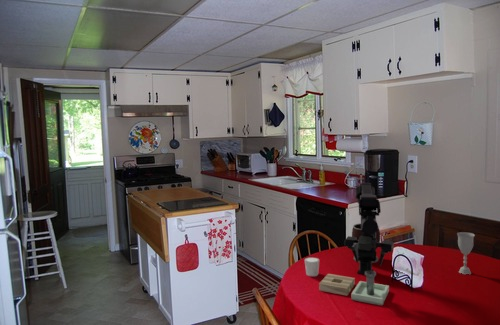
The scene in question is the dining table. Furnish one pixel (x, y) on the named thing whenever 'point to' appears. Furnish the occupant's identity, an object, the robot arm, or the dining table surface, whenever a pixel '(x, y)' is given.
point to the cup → (312, 266)
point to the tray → (377, 298)
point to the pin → (370, 281)
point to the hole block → (337, 284)
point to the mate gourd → (357, 232)
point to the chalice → (465, 248)
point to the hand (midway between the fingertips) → (368, 263)
